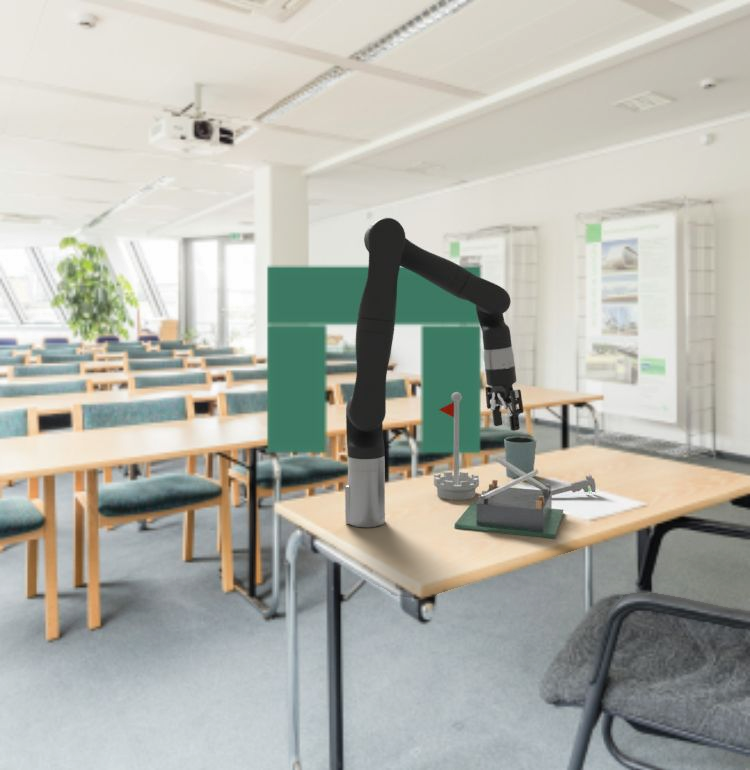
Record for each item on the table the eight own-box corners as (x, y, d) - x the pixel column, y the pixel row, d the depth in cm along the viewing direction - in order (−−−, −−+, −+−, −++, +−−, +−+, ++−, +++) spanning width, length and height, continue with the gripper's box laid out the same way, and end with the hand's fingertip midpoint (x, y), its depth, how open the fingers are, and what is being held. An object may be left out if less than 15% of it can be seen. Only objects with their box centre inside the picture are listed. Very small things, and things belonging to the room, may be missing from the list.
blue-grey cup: (533, 472, 222) (534, 436, 221) (538, 480, 212) (538, 442, 211) (502, 472, 223) (502, 436, 222) (505, 479, 213) (505, 442, 212)
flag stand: (477, 489, 203) (478, 389, 199) (480, 501, 190) (480, 394, 186) (433, 488, 204) (434, 389, 201) (433, 500, 191) (433, 394, 188)
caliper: (593, 495, 196) (594, 474, 195) (595, 496, 194) (595, 474, 194) (527, 499, 192) (527, 477, 191) (528, 500, 191) (529, 478, 190)
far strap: (548, 491, 176) (550, 488, 175) (546, 494, 173) (549, 490, 173) (496, 458, 180) (498, 455, 179) (494, 461, 177) (496, 457, 177)
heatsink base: (454, 527, 166) (454, 496, 166) (473, 504, 186) (473, 477, 185) (555, 538, 158) (555, 506, 157) (563, 513, 177) (564, 484, 177)
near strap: (481, 502, 167) (478, 497, 167) (483, 499, 170) (481, 494, 170) (537, 475, 161) (535, 470, 162) (539, 472, 164) (536, 468, 164)
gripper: (473, 366, 178) (480, 426, 180) (501, 369, 165) (508, 434, 167) (498, 362, 180) (505, 421, 182) (527, 364, 167) (534, 428, 169)
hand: (506, 427), depth 174 cm, fingers open, 8 cm apart
